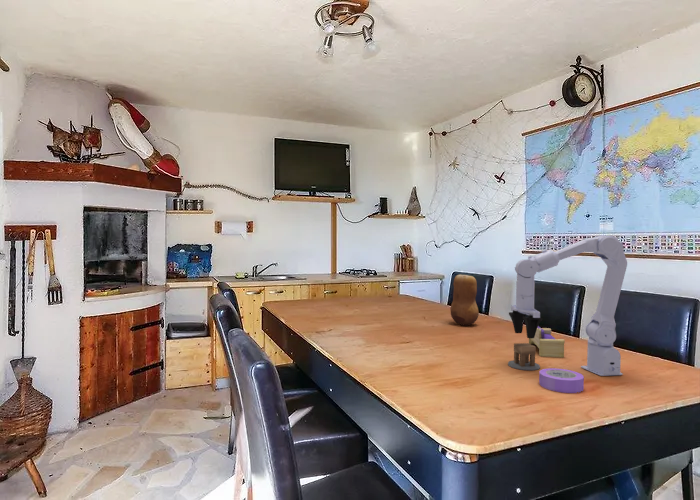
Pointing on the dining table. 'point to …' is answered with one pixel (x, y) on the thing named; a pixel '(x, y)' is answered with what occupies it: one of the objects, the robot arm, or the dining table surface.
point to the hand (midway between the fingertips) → (524, 335)
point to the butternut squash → (464, 300)
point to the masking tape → (561, 380)
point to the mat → (527, 367)
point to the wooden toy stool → (524, 354)
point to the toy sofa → (548, 343)
